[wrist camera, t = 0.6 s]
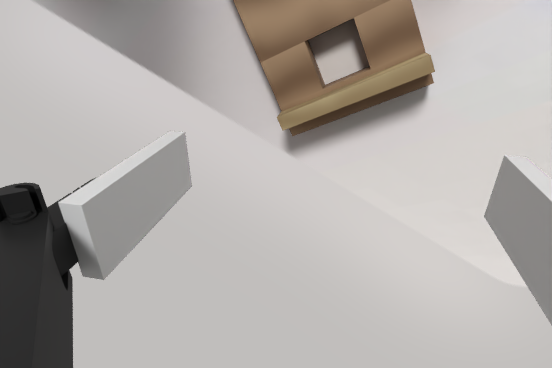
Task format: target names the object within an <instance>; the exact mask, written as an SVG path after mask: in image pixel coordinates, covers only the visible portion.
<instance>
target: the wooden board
mask: <svg viewBox="0 0 552 368" xmlns="http://www.w3.org/2000/svg"><path fill="white" fill-rule="evenodd" d="M233 1H234V3H235V6H236V8H237V10H238V13H239V15H240V17H241V19H242V22H243V24H244V26H245V29H246V31H247V33H248V35H249V38H250V40H251V42H252V45H253V47H254V49H255V52H256V54H257V56H258V58H259V61H260V63H261V65H262V68H263V70H264V72H265V74H266V77H267V79H268V81H269V84H270V86H271V88H272V90H273V93H274V95H275V97H276V100H277V102H278V104H279V107H280V109H281V111H282V112H281V113H280V114H279V115H278V117H277V119H278V121H279V123H280V126H281V128H282V130H286V129H288V128H289V129H290V132H291V134H292V136H295V135H297V134H300V133H303V132H305V131H308V130H311V129H313V128H316V127H319V126H321V125H324V124H327V123H329V122H332V121H335V120H337V119H340V118H342V117H345V116H348V115H350V114H353V113H356V112H358V111H361V110H364V109H366V108H369V107H372V106H374V105H377V104H380V103H382V102H385V101H388V100H390V99H393V98H396V97H398V96H401V95H404V94H406V93H409V92H411V91H414V90H417V89H419V88H422V87H425V86H427V85H430V84H433V83H434V82H433V78H432V75H431V73H433V72H435V70H434V66H433V63H432V59H431V55H429V54H427V53H425V49H424V45H423V42H422V38H421V34H420V31H419V27H418V24H417V20H416V16H415V13H414V9H413V5H412V2H411V0H233ZM353 18H354V20H355V23H356V26H357V29H358V32H359V35H360V39H361V42H362V45H363V48H364V51H365V54H366V57H367V60H368V63H369V67H367V68H365V69H362V70H360V71H358V72H355V73H353V74H350V75H348V76H346V77H343V78H341V79H339V80H336V81H334V82H331V83H329V84H327V85H325V84H324V81H323V78H322V76H321V73H320V71H319V68H318V65H317V63H316V60H315V57H314V55H313V52H312V50H311V47H310V44H309V42H308V40H309V39H311V38H313V37H315V36H317V35H319V34H321V33H324V32H326V31H328V30H330V29H332V28H334V27H336V26H338V25H340V24H342V23H344V22H346V21H349V20H351V19H353Z"/></svg>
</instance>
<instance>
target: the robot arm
mask: <svg viewBox="0 0 552 368" xmlns="http://www.w3.org/2000/svg"><path fill="white" fill-rule="evenodd" d="M191 187H192V184H191V176H190V168H189V160H188V152H187V144H186V136H185V132H176V131H169V132H167V133H166V134H164V135H163V136H161V137H159V138H158V139H156V140H155V141H153V142H152V143H150V144H149V145H147V146H145V147H144V148H142V149H141V150H139V151H138V152H136V153H134V154H133V155H131V156H130V157H128V158H127V159H126V160H124V161H122V162H120V163H119V164H117V165H116V166H114V167H113V168H111V169H110V170H108V171H107V172H105V173H103V174H102V175H100V176H99V177H97V178H94V179H92V180H90V181H89V182H87V183H85V184H84V185H82V186H81V188H77V189H76V190H74V191H73V193H70V194H68V195H66V196H65V197H63V198H62V199H60V200H59V201H57V202H55V203H54V204H52V205H51V206H49V207H48V208H47V206H46V204H45V201H44V198H43V195H42V192H41V189H40V187H39V185H37V184H35V183H20V184H13V185H9V186H5V187H3V188H0V368H73V318H72V317H73V316H72V315H73V312H72V311H73V309H72V307H73V306H72V305H73V303H72V276H71V274H70V271H69V269H70V268H72V267H73V266H74V265H75V264H76V263H77V262H78V263H79V266H80V269H81V272H82V275H83V276H85V277H90V278H96V279H102V280H104V279H105V278H106V277H107V276H108V275H109V274H110V273H111V272H112V271H113V270H114V268H115V267H116V266H117V265H118V264H119V263H120V262H121V261H122V260H123V259H124V258H125V257H126V256H127V254H128V253H130V251H131V250H132V249H133V248H134V247H135V246H136V245H137V244H138V243H139V242H140V241H141V240H142V239H143V238H144V237H145V236H146V234H147V233H148V232H149V231H150V230H151V229H152V228H153V227H154V226H155V225H156V224H157V223H158V222H159V221H160V220H161V218H162V217H163V216H164V215H165V214H166V213H167V212H168V211H169V210H170V209H171V208H172V207H173V206H174V205H175V203H176V202H177V201H178V200H179V199H180V198H181V197H182V196H183V195H184V194H185V193H186V192H187V191H188V190H189V189H190V188H191ZM484 217H485V219H486V220H487V222H488V223H489V225H490V227H491V228H492V230H493V231H494V233H495V235H496V236H497V238H498V240H499V241H500V243H501V244H502V246H503V248H504V249H505V251H506V252H507V254H508V256H509V257H510V259H511V260H512V262H513V264H514V265H515V267H516V269H517V270H518V272H519V273H520V275H521V277H522V278H523V280H524V281H525V283H526V285H527V286H528V288H529V289H530V291H531V293H532V294H533V296H534V297H535V299H536V301H537V302H538V304H539V306H540V307H541V309H542V310H543V312H544V314H545V315H546V317H547V318H548V320H549V322H550V323H551V325H552V178H551V177H550V176H549V175H547V174H546V173H545V172H544V171H543V170H542V169H540V168H539V167H538V166H537V165H536V164H535V163H533V162H532V161H531V160H530V159H529V158H528V157H522V156H508V155H504V158H503V161H502V164H501V167H500V170H499V173H498V176H497V179H496V182H495V185H494V188H493V191H492V194H491V197H490V200H489V203H488V206H487V209H486V212H485V215H484Z"/></svg>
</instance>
